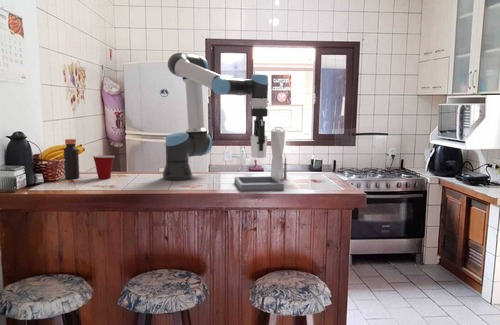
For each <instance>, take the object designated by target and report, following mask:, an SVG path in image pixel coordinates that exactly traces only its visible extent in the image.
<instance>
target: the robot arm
mask: <svg viewBox="0 0 500 325" xmlns="http://www.w3.org/2000/svg"><path fill="white" fill-rule="evenodd" d="M167 69H168V70H169V72H170V73H171V74H172V75H174V76H176V77H179V78H182V82H183V83H185V94H186V111H187V115H186V116H187V126H188V127H187V129H186V131H185V132H174V133H169V134H167V135H166V137H165V143H164V144H165V166H164V169H163V172H162V179H163V180H167V181H187V180H190V179H192V178H193V173H192V169H191V167H190V163H189V158H191V157H202V156H206V155H208V153H210V151H211V150H212V147H213V140H212V137H211V136H210V134H208V129H206V128H205V119H204V118H205V116H204V101H203V99H204V98H203V87H206V88H208V89H211V90H212V92H213V93H215V94H216V95H222V96H224V95H227V96H228V95H229V96H233V95H234V96H251V101H250V102H251V117H255V119H254V121H253V135H255V136H256V137H258V142H257V144H258V157H257V159H264V158H265V157H264V143H265V136H266V134H265V132H266V131H265V129H266V127H265V126H266V121H265V120H264V117H268V111H269V110H268V103H269V100H268V97H269V96H268V93H269V76H268V75H267V74H266V73H255V74H254V73H253V74H252V75H251V79H250V78H245V79H244V78H235V77H233V78H232V77H226V76H224V75H221V74H218V73H216V72H215V71H211V70H209V64H208V61H207V59H206V58H205V57H204V56H202V55H198V54H194V53H193V54H191V53H184V52H176V53H173V54H172V55H170V57H169V59H168V61H167Z"/></svg>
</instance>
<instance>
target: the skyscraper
mask: <svg viewBox="0 0 500 325" xmlns="http://www.w3.org/2000/svg"><path fill="white" fill-rule="evenodd" d="M285 137H286V131H285V129H284V128H283V127H281V126H276V127H274V129H273V128H272V129H271V131H270V149H271V167H270V176H274V177H275V178H277V179H278V180H279V181H281V180H282V181H285V180H287V179H288V177H287V176H288V175H287V174H288V173H287V172H288V171H287V169H288V167H287V155H285V157H284V158H283V153H284V148H285V139H286V138H285ZM283 159H284V160H283ZM283 162H284V163H283ZM282 181H281V182H282Z"/></svg>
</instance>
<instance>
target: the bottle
mask: <svg viewBox="0 0 500 325" xmlns="http://www.w3.org/2000/svg"><path fill="white" fill-rule="evenodd" d="M76 142H77V140H76V139H75V138H66V139H64V143H65V148H63V160H64V159H65V161H63V163H64V164H63V167H64V178H65V180H78V179H80V162H79V160H80V159H79V149H78V147H77V146H76V144H77V143H76Z"/></svg>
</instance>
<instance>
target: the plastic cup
mask: <svg viewBox="0 0 500 325" xmlns="http://www.w3.org/2000/svg"><path fill="white" fill-rule="evenodd" d="M92 157H93V161H94V163H95V169H96V173H97V174H96V175H97V178H98V180H109V179H111V176H112V171H113V170H112V169H113V163H114V159H115V157H116V156H115V155H107V154H106V155H99V154H98V155H92Z"/></svg>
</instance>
